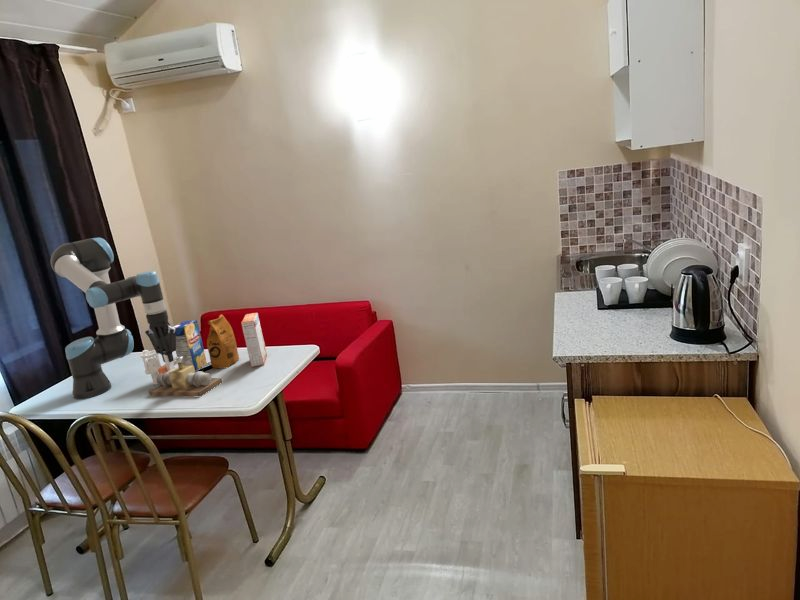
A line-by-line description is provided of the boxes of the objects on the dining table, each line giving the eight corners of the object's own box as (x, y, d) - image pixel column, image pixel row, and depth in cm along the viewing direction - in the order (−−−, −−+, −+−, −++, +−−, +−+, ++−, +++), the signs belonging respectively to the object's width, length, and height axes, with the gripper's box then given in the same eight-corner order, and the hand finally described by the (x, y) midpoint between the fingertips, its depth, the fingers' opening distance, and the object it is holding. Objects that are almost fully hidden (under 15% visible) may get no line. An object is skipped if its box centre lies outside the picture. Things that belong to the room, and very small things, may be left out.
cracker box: (254, 357, 273) (245, 314, 268) (267, 355, 274) (258, 311, 269) (250, 367, 260) (240, 322, 255) (264, 365, 260) (254, 319, 255)
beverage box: (181, 376, 263) (170, 328, 257) (194, 366, 273) (183, 321, 268) (195, 374, 261) (184, 327, 256) (207, 365, 272) (196, 319, 266)
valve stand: (149, 395, 243) (142, 369, 240) (173, 382, 256) (166, 356, 253) (200, 396, 234) (193, 369, 231) (222, 382, 246) (216, 356, 243)
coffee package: (208, 369, 266) (197, 322, 261) (224, 359, 278) (214, 314, 272) (227, 369, 263) (216, 321, 258) (242, 358, 274) (232, 313, 269)
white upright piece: (157, 379, 263) (149, 347, 259) (169, 380, 259) (161, 347, 256) (145, 385, 257) (136, 353, 253) (156, 386, 253) (147, 353, 250)
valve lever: (178, 360, 244) (177, 356, 243) (185, 360, 243) (184, 355, 242) (158, 373, 230) (157, 369, 230) (165, 373, 230) (164, 368, 229)
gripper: (135, 315, 225) (150, 373, 231) (164, 313, 221) (179, 372, 227) (148, 310, 232) (163, 366, 238) (176, 307, 228) (190, 365, 234)
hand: (170, 369), depth 232 cm, fingers closed
